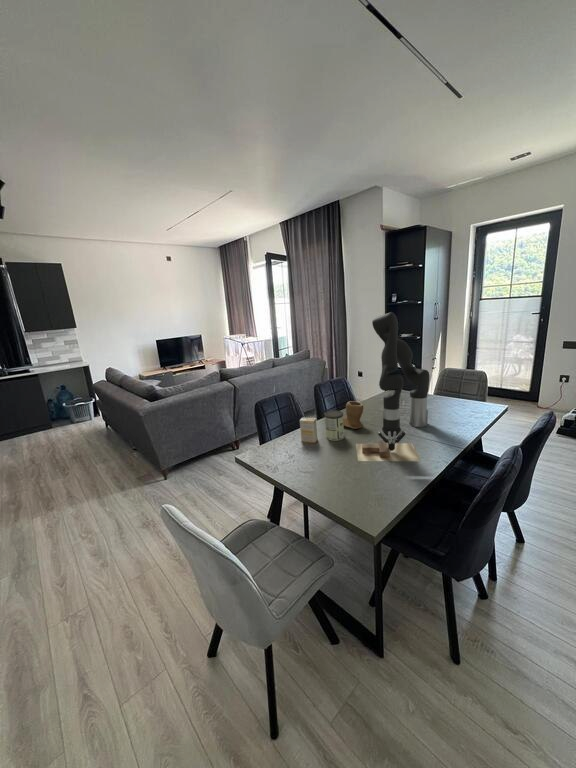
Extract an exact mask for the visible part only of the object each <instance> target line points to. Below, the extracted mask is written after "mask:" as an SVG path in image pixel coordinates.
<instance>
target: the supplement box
mask: <svg viewBox="0 0 576 768" xmlns="http://www.w3.org/2000/svg"><path fill="white" fill-rule="evenodd" d="M299 428H300V439H301V442H302V443H309V444H316V442H318V439H319V438H318V429H317V419H316V418H315V417H301V418H300V419H299Z"/></svg>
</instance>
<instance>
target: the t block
mask: <svg viewBox="0 0 576 768" xmlns="http://www.w3.org/2000/svg"><path fill="white" fill-rule="evenodd" d="M361 444H362V453H379V455H380V458H389V451H388V446H387V444H388V443H385V442H384V441H383V440H378V442H377V443H361Z"/></svg>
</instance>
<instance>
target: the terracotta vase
mask: <svg viewBox="0 0 576 768" xmlns="http://www.w3.org/2000/svg"><path fill="white" fill-rule="evenodd" d="M363 412H364V404H363V403H362V402H358V401H354V400H353V401H352V400H350V401H347V402H346V404H345V413H346V417H343V424H344V427H347V428H350V429H354V430H355V429H356V430H358V429H360V428H363V426H364V423H362V422H361V418H362V415H363Z"/></svg>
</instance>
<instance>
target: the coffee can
mask: <svg viewBox="0 0 576 768" xmlns="http://www.w3.org/2000/svg"><path fill="white" fill-rule="evenodd" d="M343 418H344V412H343V411H340V410H328V411H325V413H324V423H325V424H324V425H325V438H326V440H329V441H333V442H335V441H336V442H337V441H341V440H343V439H344V438H345V429H344V427H345V426H344V424H343Z"/></svg>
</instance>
